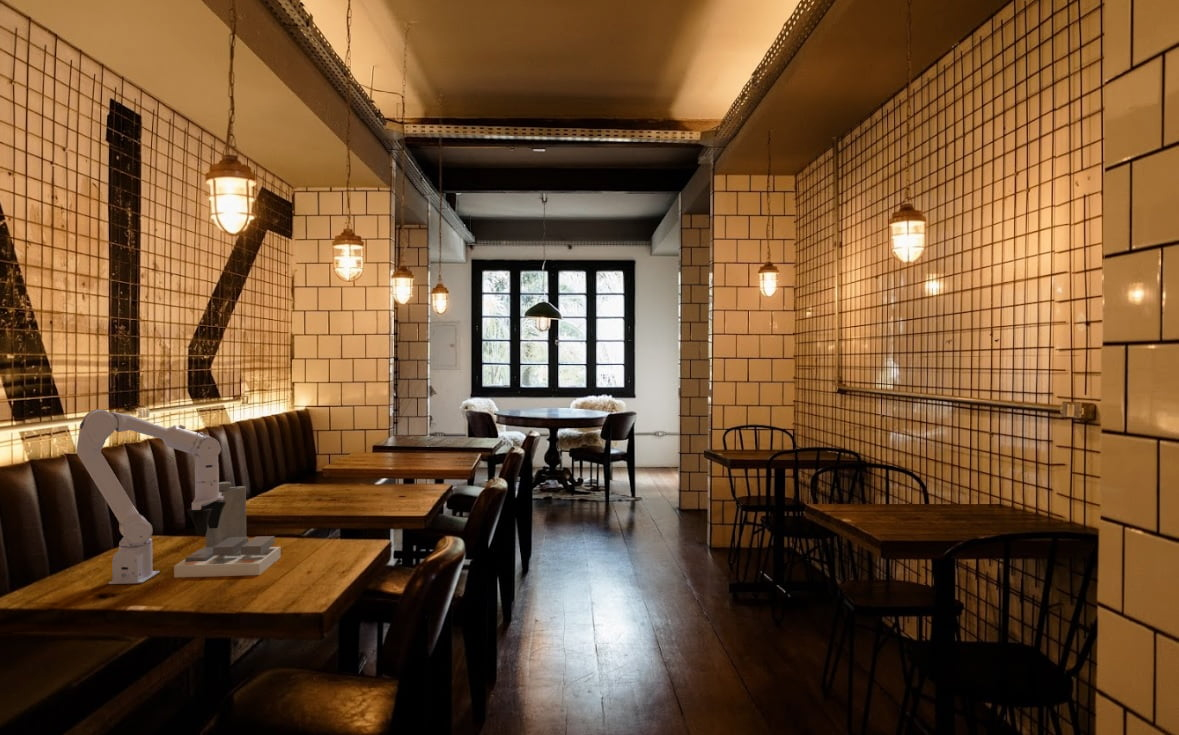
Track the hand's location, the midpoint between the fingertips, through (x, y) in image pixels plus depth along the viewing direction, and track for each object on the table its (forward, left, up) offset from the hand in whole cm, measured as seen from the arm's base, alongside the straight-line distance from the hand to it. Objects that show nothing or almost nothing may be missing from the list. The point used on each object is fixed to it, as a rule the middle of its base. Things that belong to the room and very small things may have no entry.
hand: (207, 531), depth 201 cm
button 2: (0, -13, -5) cm, 14 cm away
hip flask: (+17, +2, -10) cm, 20 cm away
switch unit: (0, -6, -10) cm, 11 cm away
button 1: (0, +1, -8) cm, 8 cm away
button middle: (0, -6, -5) cm, 8 cm away
